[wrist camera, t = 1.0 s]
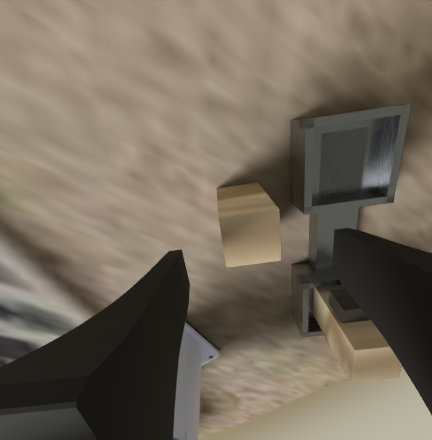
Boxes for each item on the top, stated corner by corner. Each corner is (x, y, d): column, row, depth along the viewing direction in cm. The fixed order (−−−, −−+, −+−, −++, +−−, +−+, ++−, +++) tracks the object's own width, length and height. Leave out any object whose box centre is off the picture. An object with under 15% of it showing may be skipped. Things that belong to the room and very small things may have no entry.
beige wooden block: (216, 188, 17) (219, 217, 12) (257, 182, 17) (279, 209, 12) (223, 237, 19) (228, 283, 13) (261, 232, 19) (281, 277, 13)
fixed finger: (348, 309, 20) (398, 378, 15) (312, 313, 20) (349, 382, 15) (352, 269, 19) (412, 330, 13) (314, 274, 19) (357, 336, 13)
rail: (352, 306, 22) (370, 329, 20) (292, 313, 22) (302, 337, 20) (378, 107, 15) (411, 103, 13) (290, 120, 15) (305, 119, 13)
